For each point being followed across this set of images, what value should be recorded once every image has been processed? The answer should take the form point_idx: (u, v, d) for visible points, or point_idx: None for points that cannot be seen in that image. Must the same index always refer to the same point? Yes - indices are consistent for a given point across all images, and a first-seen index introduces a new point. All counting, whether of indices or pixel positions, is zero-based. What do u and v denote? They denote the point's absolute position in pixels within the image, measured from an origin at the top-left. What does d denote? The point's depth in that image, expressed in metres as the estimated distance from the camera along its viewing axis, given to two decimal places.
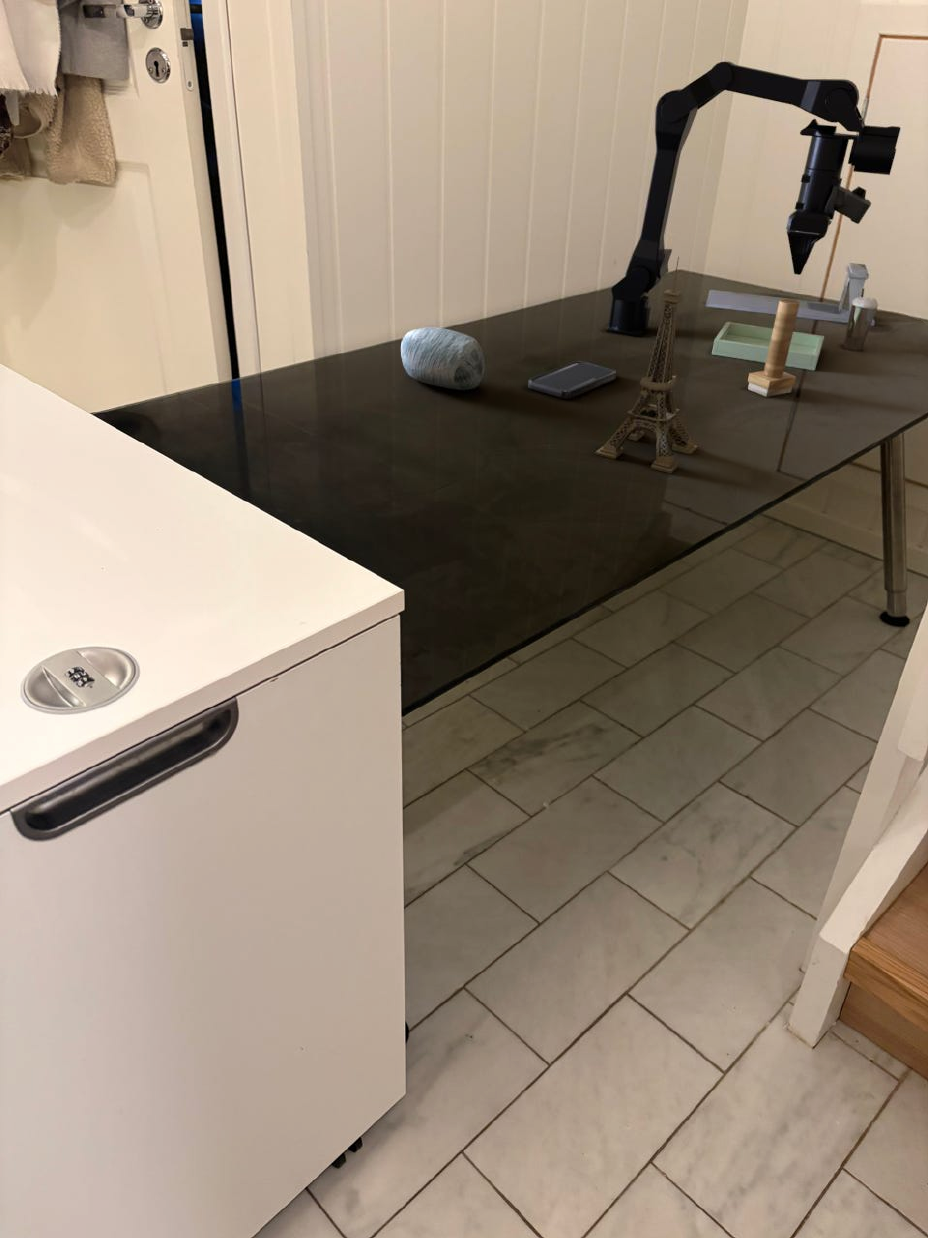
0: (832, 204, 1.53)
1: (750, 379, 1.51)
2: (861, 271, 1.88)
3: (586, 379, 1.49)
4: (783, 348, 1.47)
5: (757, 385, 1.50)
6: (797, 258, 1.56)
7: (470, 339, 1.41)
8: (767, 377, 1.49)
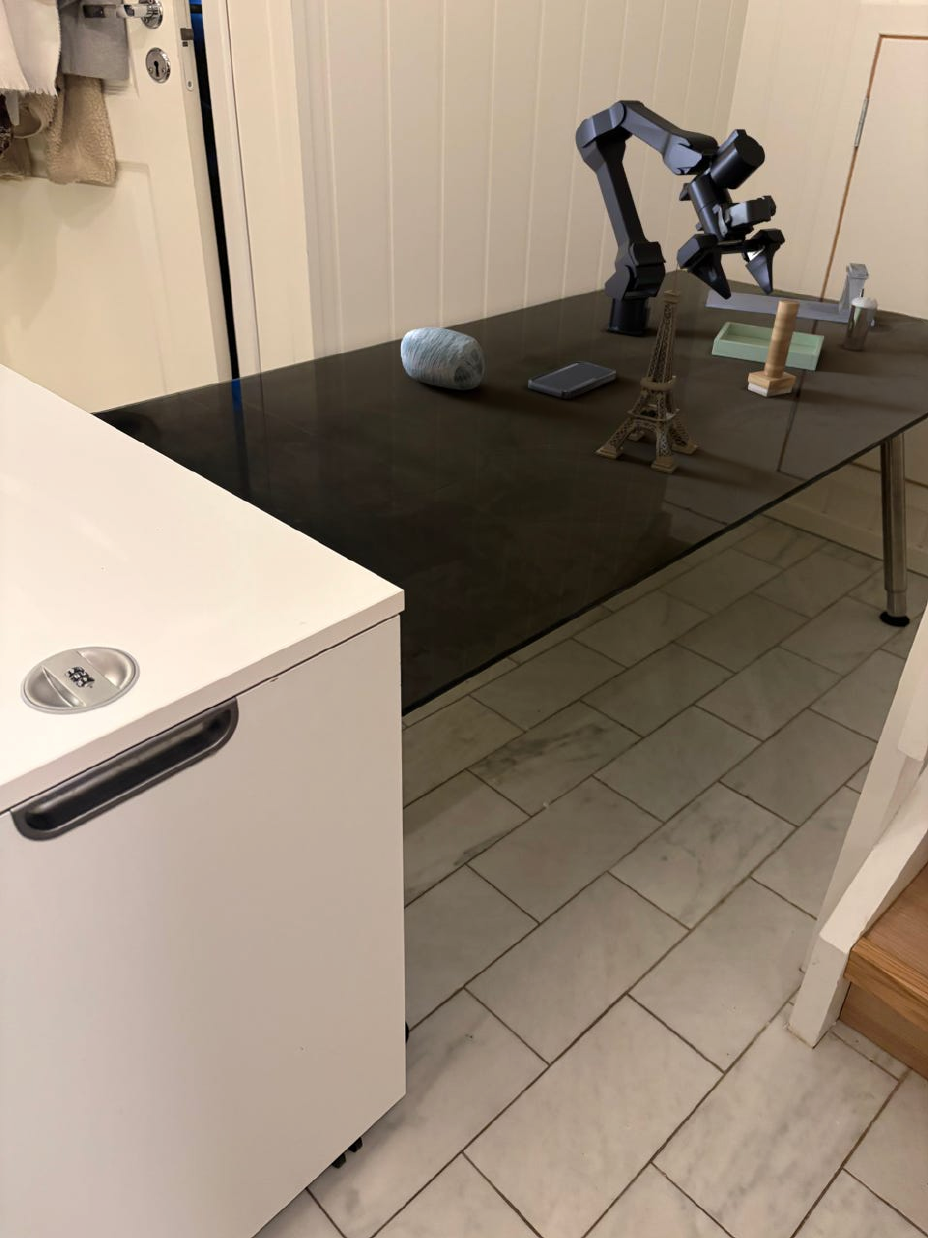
0: (723, 224, 1.48)
1: (750, 379, 1.51)
2: (861, 271, 1.88)
3: (586, 379, 1.49)
4: (783, 348, 1.47)
5: (757, 385, 1.50)
6: (716, 285, 1.49)
7: (470, 339, 1.41)
8: (767, 377, 1.49)
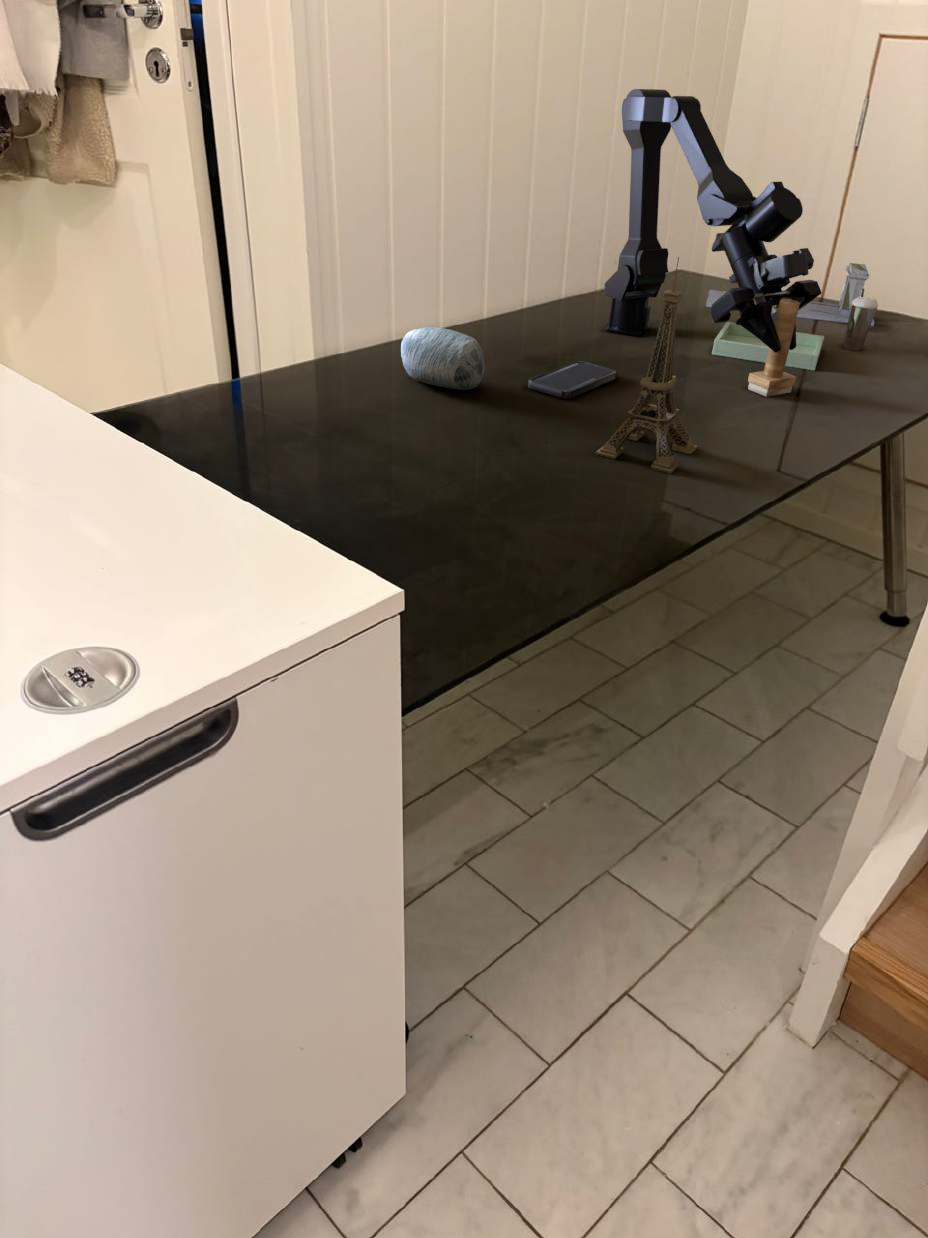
0: (759, 278, 1.45)
1: (750, 379, 1.51)
2: (861, 271, 1.88)
3: (586, 379, 1.49)
4: (783, 348, 1.47)
5: (757, 385, 1.50)
6: (765, 338, 1.47)
7: (470, 339, 1.41)
8: (767, 377, 1.49)
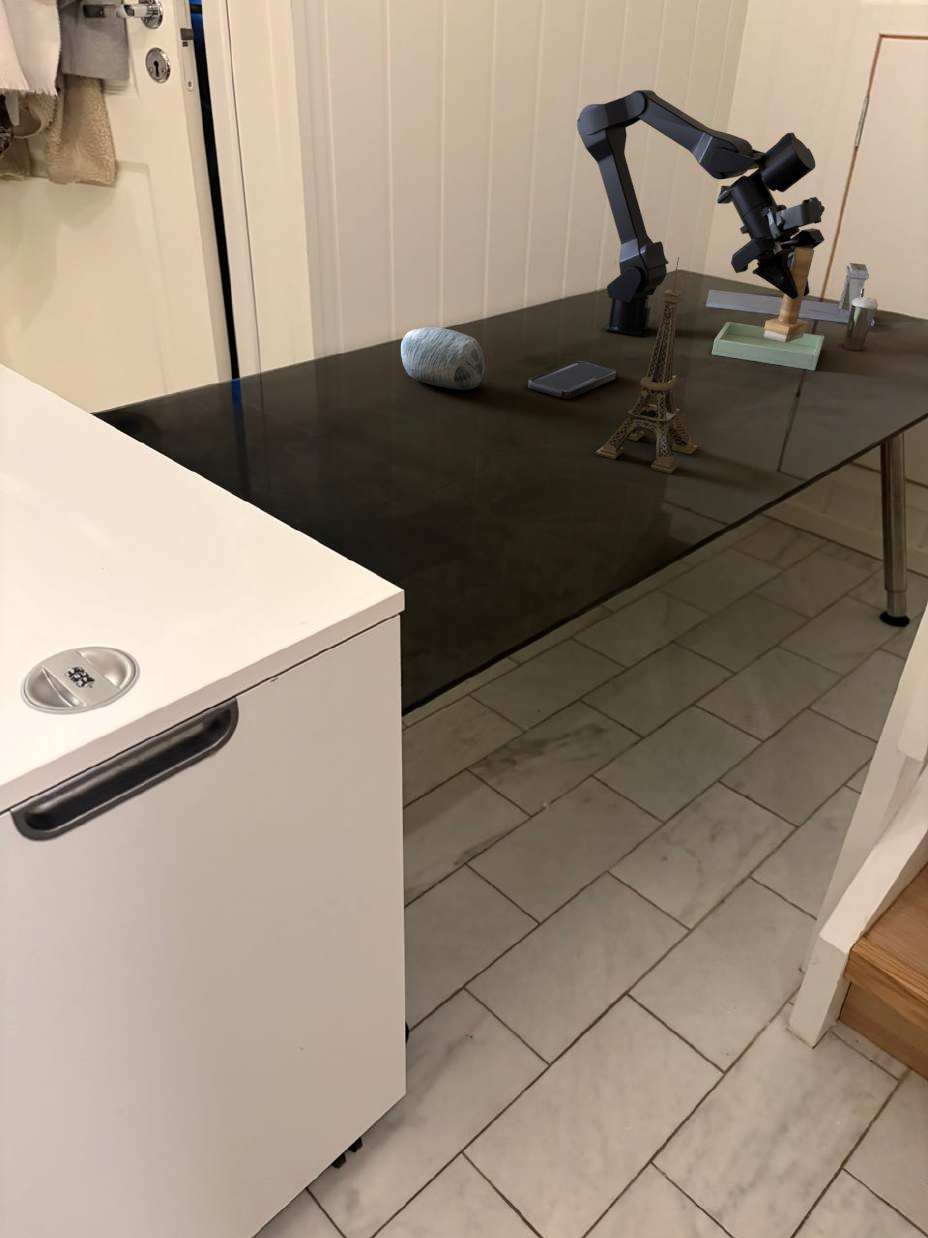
0: (775, 227, 1.50)
1: (767, 327, 1.56)
2: (861, 271, 1.88)
3: (586, 379, 1.49)
4: (799, 294, 1.53)
5: (775, 332, 1.56)
6: (782, 285, 1.52)
7: (470, 339, 1.41)
8: (784, 323, 1.55)
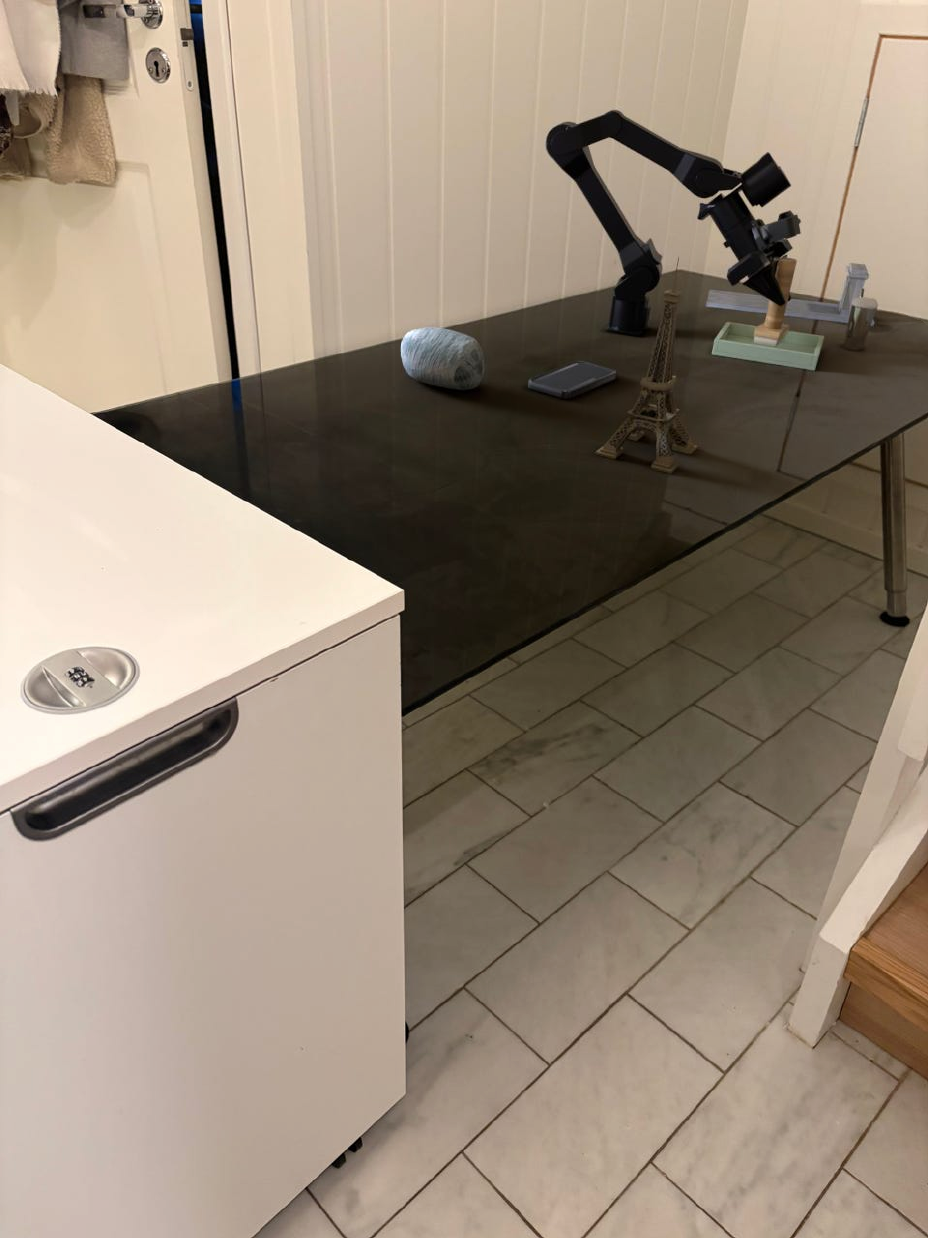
0: (761, 241, 1.60)
1: (757, 333, 1.67)
2: (861, 271, 1.88)
3: (586, 379, 1.49)
4: None
5: (765, 337, 1.66)
6: (771, 294, 1.63)
7: (470, 339, 1.41)
8: (772, 329, 1.66)
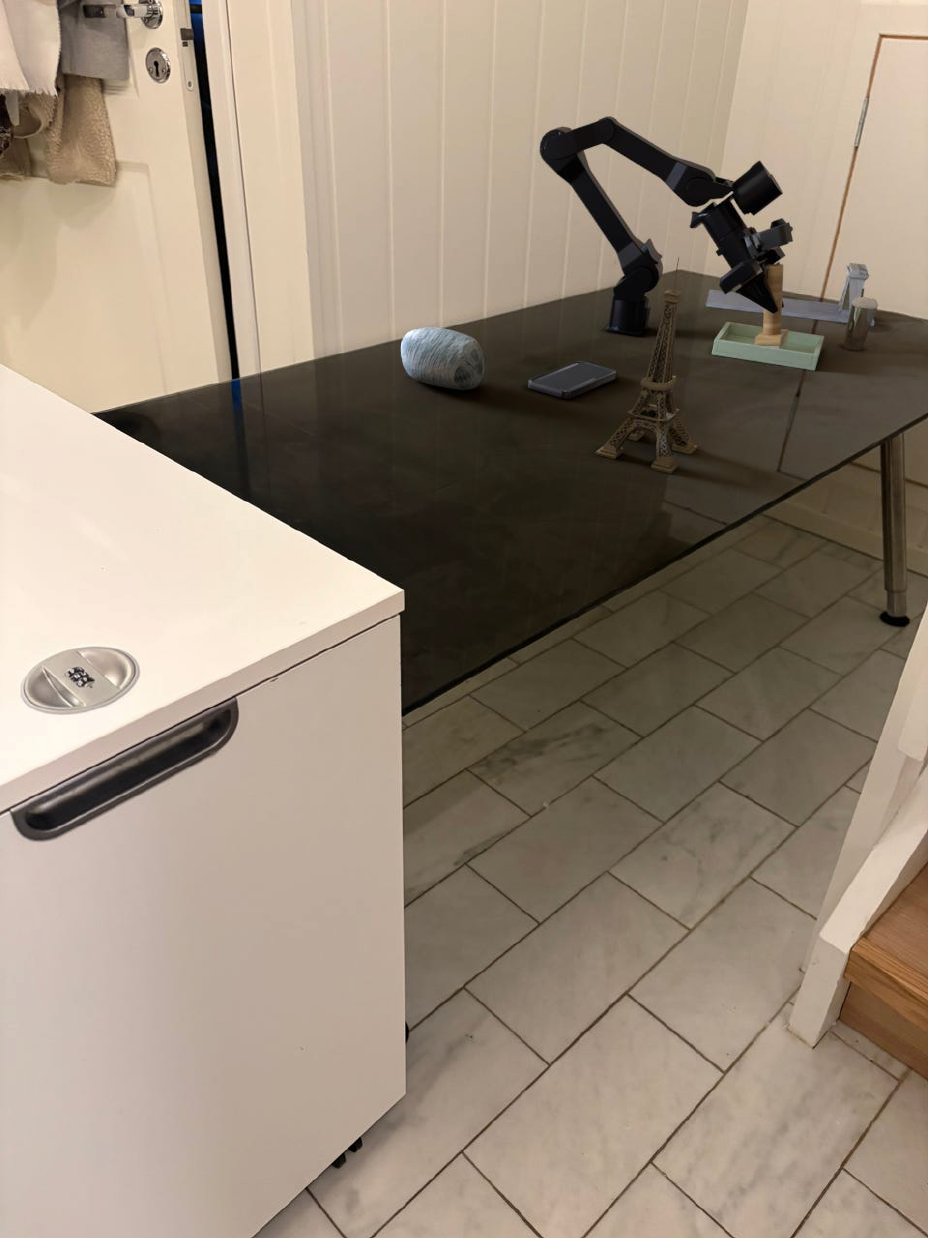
0: (753, 249, 1.60)
1: (758, 342, 1.67)
2: (861, 271, 1.88)
3: (586, 379, 1.49)
4: (780, 306, 1.64)
5: (767, 345, 1.66)
6: (764, 302, 1.63)
7: (470, 339, 1.41)
8: (773, 335, 1.66)
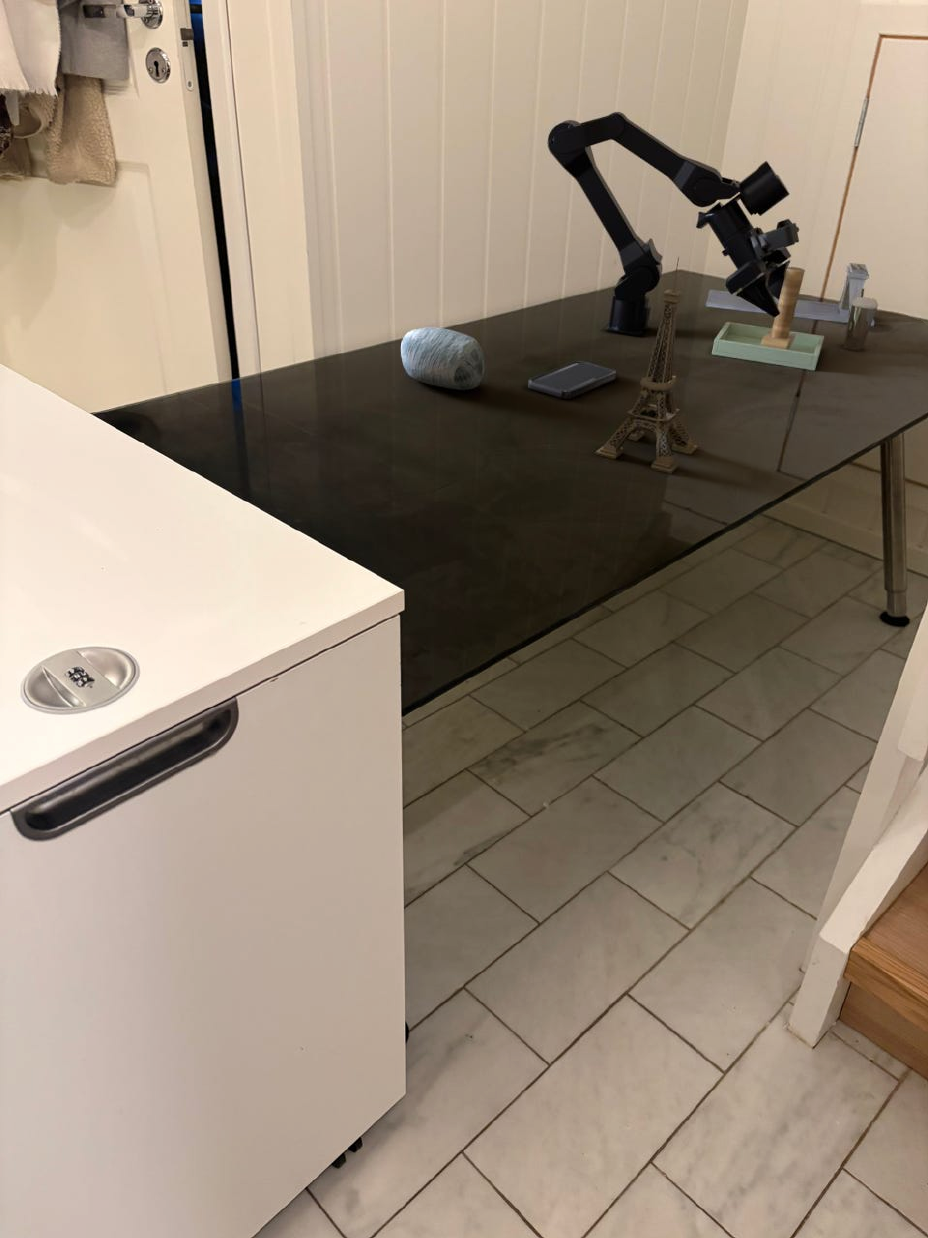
0: (759, 249, 1.61)
1: (765, 343, 1.67)
2: (861, 271, 1.88)
3: (586, 379, 1.49)
4: (793, 311, 1.64)
5: (773, 347, 1.66)
6: (765, 305, 1.62)
7: (470, 339, 1.41)
8: (780, 338, 1.66)
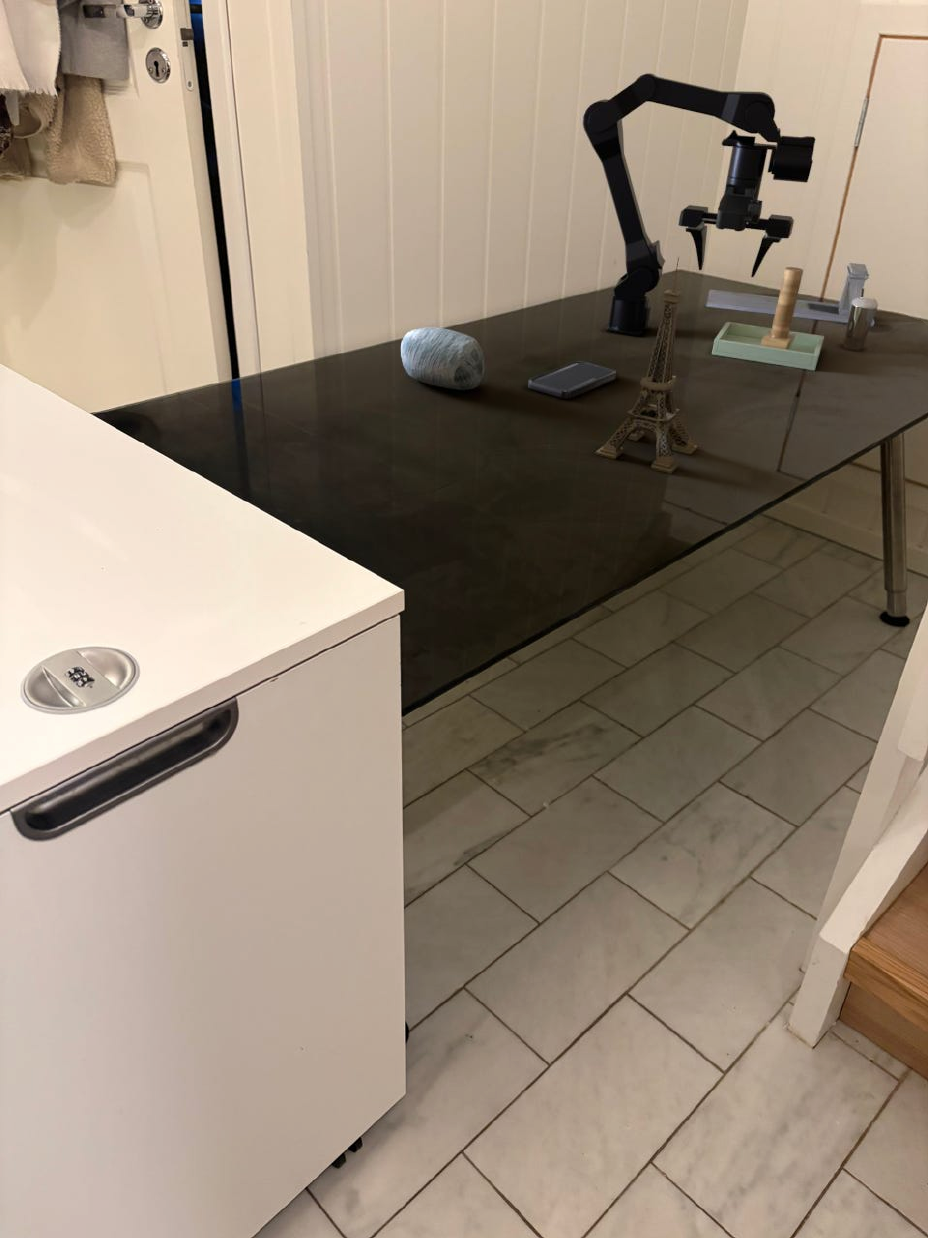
0: None
1: (764, 343, 1.67)
2: (861, 271, 1.88)
3: (586, 379, 1.49)
4: (792, 311, 1.64)
5: None
6: None
7: (470, 339, 1.41)
8: (780, 338, 1.66)
